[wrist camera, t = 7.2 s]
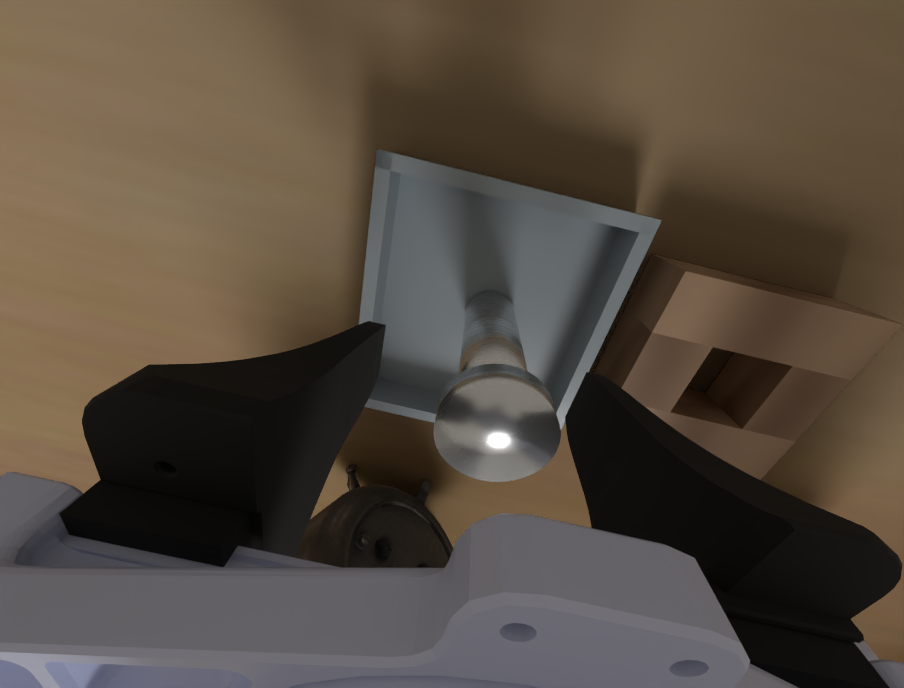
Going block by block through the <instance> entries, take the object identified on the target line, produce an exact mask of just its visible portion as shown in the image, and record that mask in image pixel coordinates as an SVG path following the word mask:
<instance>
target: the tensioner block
mask: <svg viewBox="0 0 904 688" xmlns="http://www.w3.org/2000/svg"><path fill="white" fill-rule="evenodd" d="M902 326H903V324H900V323H898V322H895V321H892V320H890V319H887V318H884V317H881V316H879V315H876V314H873V313H871V312H868V311H865V310H863V309H860V308H857V307H855V306H852V305H849V304H846V303H844V302H841V301H838V300H836V299H832V298H828V297H824V296H820V295H816V294H812V293H808V292H804V291H800V290H796V289H792V288H788V287H784V286H780V285H775V284H771V283H767V282H763V281H759V280H755V279H751V278H747V277H743V276H739V275H735V274H731V273H727V272H723V271H719V270H715V269H711V268H707V267H702V266H698V265H694V264H690V263H686V262H682V261H678V260H674V259H670V258H666V257H662V256H658V255H654V254H652V255H651V257H650V259H649V261H648V263H647V265H646V267H645V269H644V271H643V273H642V275H641V277H640V279H639V281H638V283H637V285H636V287H635V290H634V292H633V294H632V296H631V298H630V300H629V302H628V304H627V306H626V308H625V310H624V312H623V314H622V316H621V318H620V320H619V322H618V324H617V326H616V328H615V330H614V332H613V334H612V336H611V338H610V340H609V342H608V345H607V347H606V349H605V351H604V353H603V355H602V357H601V359H600V361H599V363H598V365H597V367H596V369H595V371H594V373H593V374H597V375H602V376H604V377H606V378H608V379H609V380H611V381H612V382H614V383H615V384H617V385H618V386H619V387H621V388H622V389H623V390H624V391H626V392H627V393H628V394H630V395H631V396H632V397H633V398H635V399H636V400H637V401H638V402H640V403H641V404H642V405H643V406H645V407H646V408H647V409H649V410H650V411H651V412H652V413H654V414H655V415H656V416H658V417H659V418H660V419H662V420H663V421H664V422H666V423H667V424H668V425H670V426H671V427H673V428H674V429H675V430H677V431H678V432H680V433H681V434H682V435H684V436H685V437H687V438H688V439H690V440H691V441H693V442H695V443H696V444H698V445H699V446H701V447H702V448H704V449H706V450H707V451H709V452H710V453H712V454H714V455H715V456H717V457H719V458H720V459H722V460H724V461H726V462H727V463H729V464H731V465H733V466H735V467H736V468H738V469H740V470H742V471H744V472H746V473H747V474H749V475H751V476H753V477H755V478H757V479H759V480H761V479H762V478H763V477H764V476H765V475H766V474H767V473H768V471H769V470H770V469H771V468H772V467H773V466H774V465H775V464H776V463H777V462H778V461H779V459H780V458H781V457H782V456H783V455H784V454H785V453H786V452H787V451H788V450H789V449H790V448H791V446H792V445H793V444H794V443H795V442H796V441H797V440H798V439H799V438H800V437H801V436H802V434H803V433H804V432H805V431H806V430H807V429H808V428H809V427H810V426H811V425H812V424H813V423H814V421H815V420H816V419H817V418H818V417H819V416H820V415H821V414H822V413H823V412H824V411H825V409H826V408H827V407H828V406H829V405H830V404H831V403H832V402H833V401H834V400H835V399H836V397H837V396H838V395H839V394H840V393H841V392H842V391H843V390H844V389H845V388H846V387H847V386H848V384H849V383H850V382H851V381H852V380H853V379H854V378H855V377H856V376H857V375H858V374H859V372H860V371H861V370H862V369H863V368H864V367H865V366H866V365H867V364H868V363H869V362H870V361H871V359H872V358H873V357H874V356H875V355H876V354H877V353H878V352H879V351H880V350H881V349H882V347H883V346H884V345H885V344H886V343H887V342H888V341H889V340H890V339H891V338H892V337H893V336H894V334H895V333H896V332H897V331H898V330H899V329H900V328H901V327H902ZM713 347H715V348H719V349H723V350H727V351H731V352H734V353H733V355H732V356H731V357H730V359H729V360H728V362H727V363H726V365H725V366H724V368H723V369H722V370H721V372H720V373H719V375H718V376H717V378H716V379H715V380H714V382H713V383H712V385H711V386H710V388H709V389H708V391H707V392H706V393H705V392H701V391H696V390H692V389H688V388H686V387H687V386H688V384H689V383H690V381H691V380H692V378H693V377H694V375H695V374H696V372H697V370H698V369H699V367H700V366H701V364H702V363H703V361H704V360H705V358H706V357H707V355H708V354H709V352H710V351H711V349H712V348H713Z"/></svg>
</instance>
